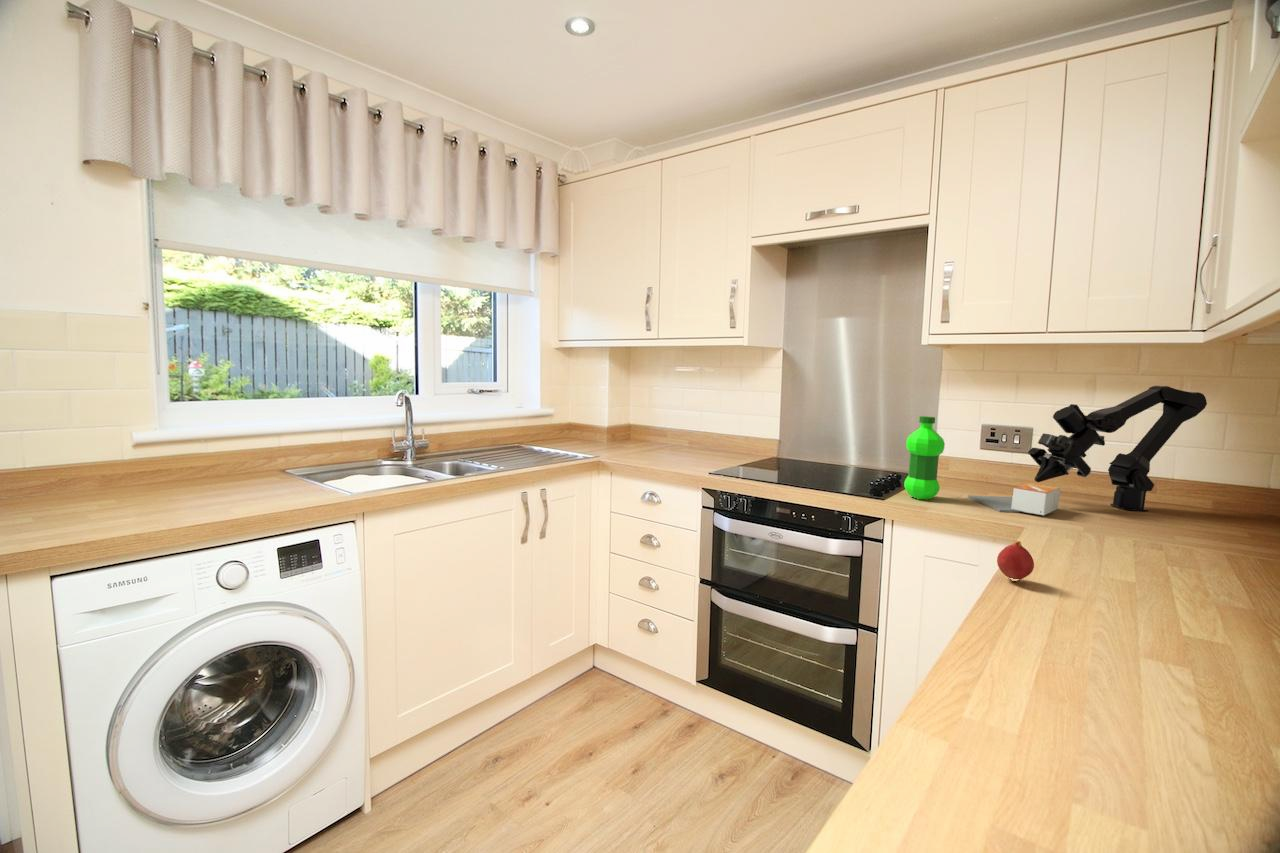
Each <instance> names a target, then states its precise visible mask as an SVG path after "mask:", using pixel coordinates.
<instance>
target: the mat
mask: <svg viewBox="0 0 1280 853" xmlns="http://www.w3.org/2000/svg"><path fill="white" fill-rule="evenodd" d="M968 497H969V499H971V500H972V501H973V500H974V501H975V502H977V503H980V504H981V503H982V505H983V506H987V507H988V508H990V509H992V508H993V510H995V511H997V512H999V511H1000V512H1001V513H1014V512H1022V511H1017V510H1013V509H1011V506H1012V498H1013V496H999V495H998V496H996V495H995V496H994V495H993V496H992V495H975V494H974V495H969V494H968V495H967V498H968ZM1000 512H999V513H1000ZM1022 514H1028V513H1027V512H1023V513H1022ZM1051 514H1052V512H1050V513H1048V514H1047V515H1051Z"/></svg>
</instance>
